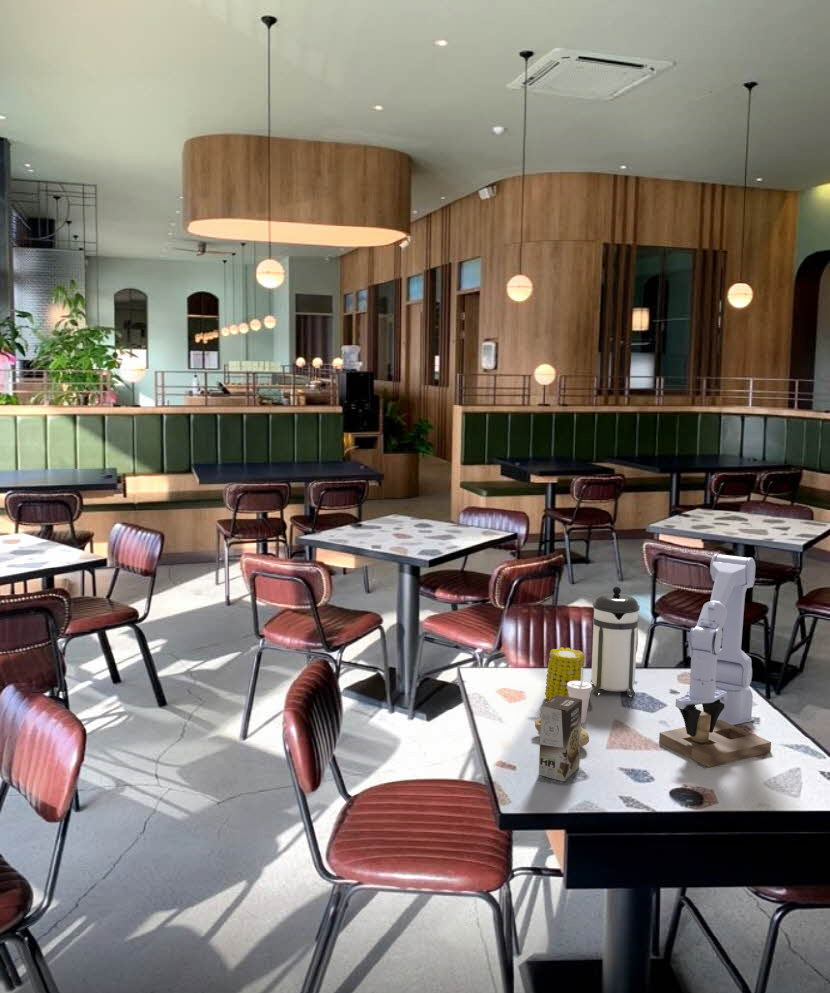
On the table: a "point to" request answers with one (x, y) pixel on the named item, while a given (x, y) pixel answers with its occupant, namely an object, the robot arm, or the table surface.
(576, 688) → the smoothie
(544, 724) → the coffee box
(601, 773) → the table surface
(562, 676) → the food
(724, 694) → the robot arm
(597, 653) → the coffee press
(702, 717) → the oak peg
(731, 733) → the walnut board
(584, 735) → the oil lamp
